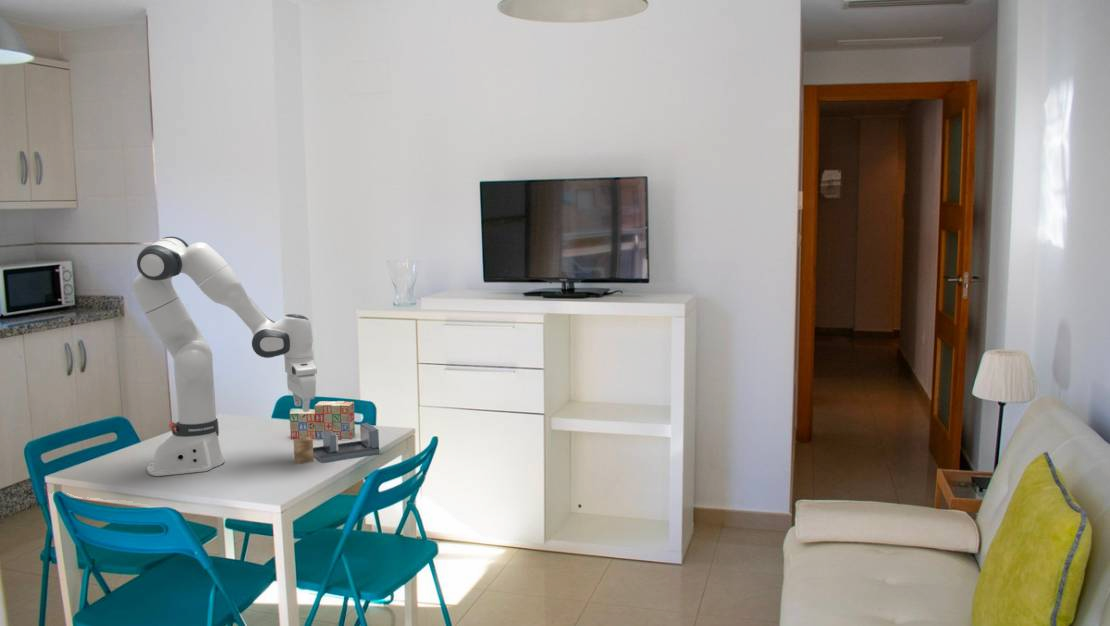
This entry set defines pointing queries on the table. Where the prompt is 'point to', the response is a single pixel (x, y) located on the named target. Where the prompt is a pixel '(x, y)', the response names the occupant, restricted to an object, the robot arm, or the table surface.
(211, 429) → the robot arm
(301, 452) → the oak block
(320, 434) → the stack of blocks
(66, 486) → the table surface
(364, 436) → the vise base
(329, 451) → the sliding jaw
